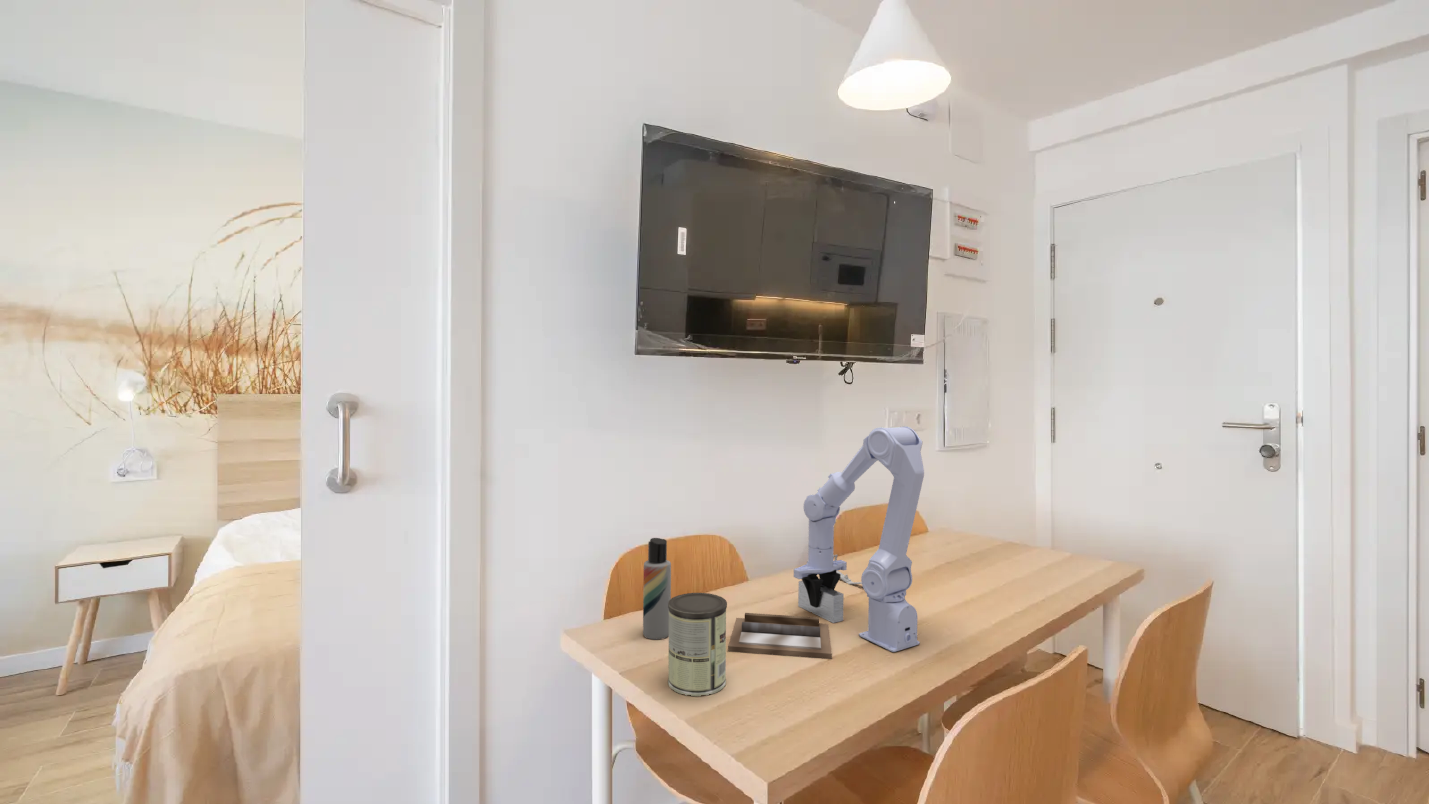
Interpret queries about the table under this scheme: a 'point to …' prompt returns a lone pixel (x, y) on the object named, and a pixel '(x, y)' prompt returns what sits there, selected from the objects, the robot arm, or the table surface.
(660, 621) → the lotion bottle
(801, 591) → the grey speckled stone slab
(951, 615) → the table surface
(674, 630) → the coffee can
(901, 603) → the robot arm
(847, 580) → the bracket
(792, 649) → the hinge base
